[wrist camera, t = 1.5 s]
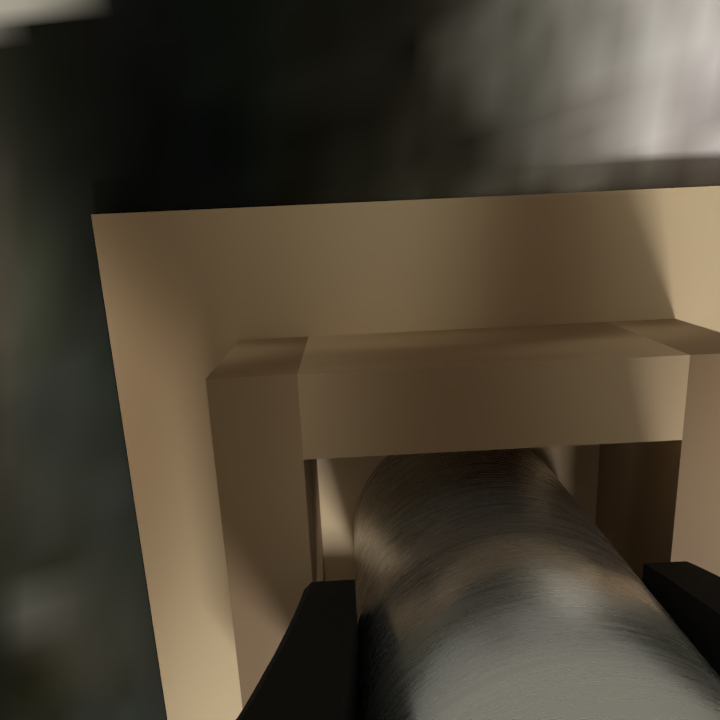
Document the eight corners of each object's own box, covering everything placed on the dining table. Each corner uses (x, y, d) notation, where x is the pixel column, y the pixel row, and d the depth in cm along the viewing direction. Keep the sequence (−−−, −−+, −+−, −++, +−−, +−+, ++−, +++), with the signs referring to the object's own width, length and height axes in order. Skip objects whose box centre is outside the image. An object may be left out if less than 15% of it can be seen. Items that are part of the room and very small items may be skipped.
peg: (568, 421, 11) (1200, 996, 3) (559, 611, 11) (1010, 1435, 4) (348, 432, 10) (360, 1048, 3) (358, 623, 11) (388, 1484, 4)
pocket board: (795, 182, 10) (977, 168, 7) (696, 937, 14) (786, 1119, 12) (103, 214, 10) (3, 212, 7) (213, 968, 14) (180, 1161, 11)
